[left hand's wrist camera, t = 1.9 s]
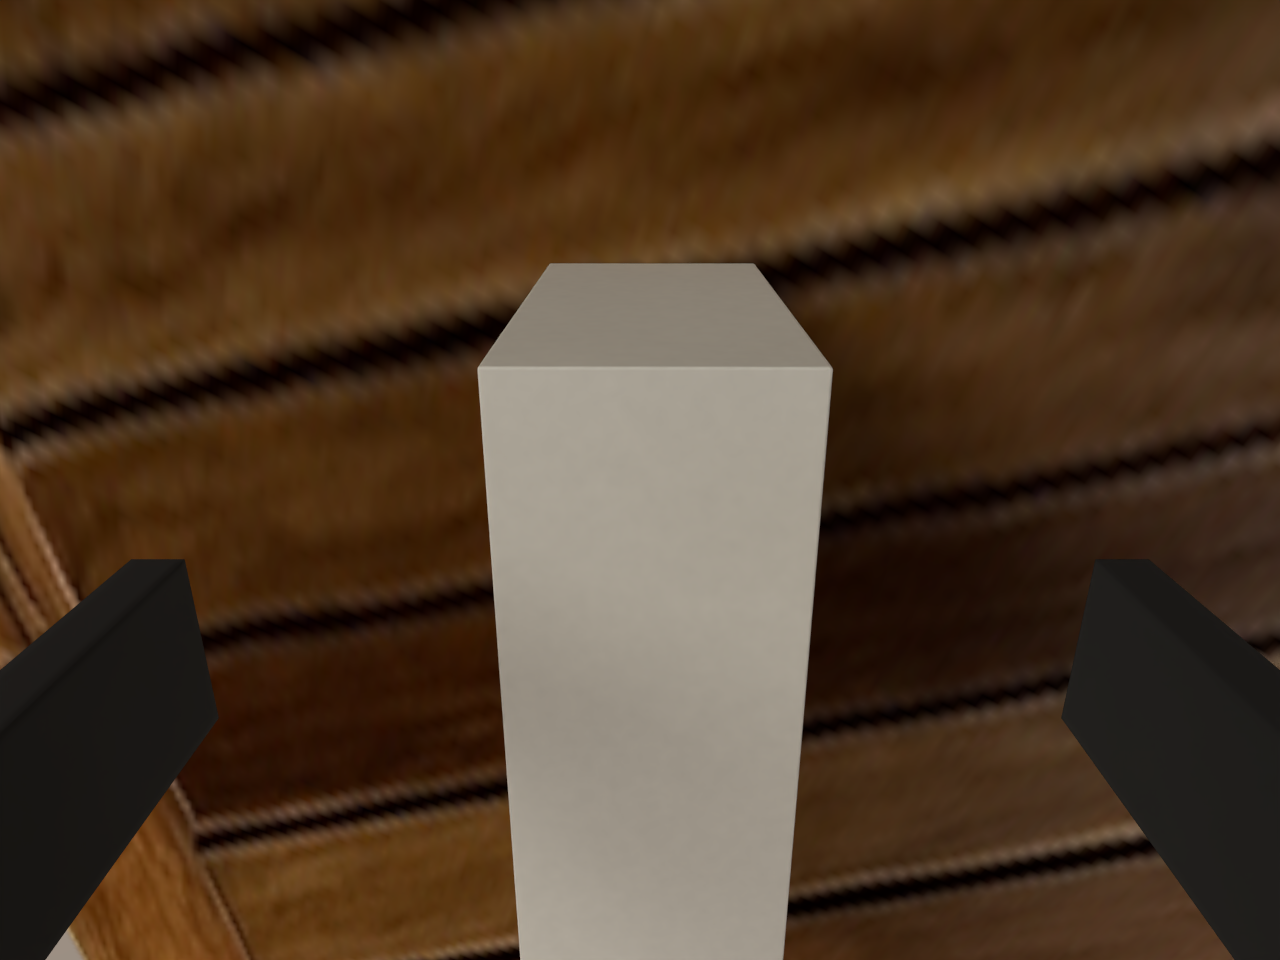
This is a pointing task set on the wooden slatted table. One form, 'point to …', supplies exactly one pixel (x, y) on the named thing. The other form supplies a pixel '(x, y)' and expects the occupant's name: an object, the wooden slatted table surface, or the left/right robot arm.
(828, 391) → the box
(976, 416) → the wooden slatted table surface
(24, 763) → the left robot arm
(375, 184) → the wooden slatted table surface
